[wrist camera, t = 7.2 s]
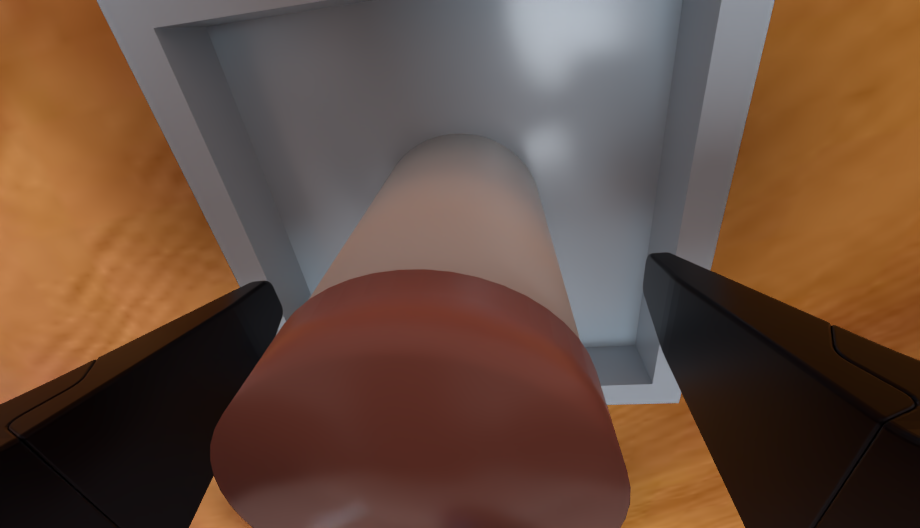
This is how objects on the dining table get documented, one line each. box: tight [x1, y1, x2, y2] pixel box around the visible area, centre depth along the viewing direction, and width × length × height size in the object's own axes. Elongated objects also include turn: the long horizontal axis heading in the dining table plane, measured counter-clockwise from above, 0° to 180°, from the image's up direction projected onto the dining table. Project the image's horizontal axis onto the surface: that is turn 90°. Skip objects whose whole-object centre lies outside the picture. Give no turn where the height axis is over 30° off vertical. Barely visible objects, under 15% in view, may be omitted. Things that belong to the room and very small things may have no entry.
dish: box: [97, 0, 775, 405], centre depth 12 cm, size 14×14×2 cm
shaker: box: [210, 133, 630, 528], centre depth 9 cm, size 5×5×9 cm
